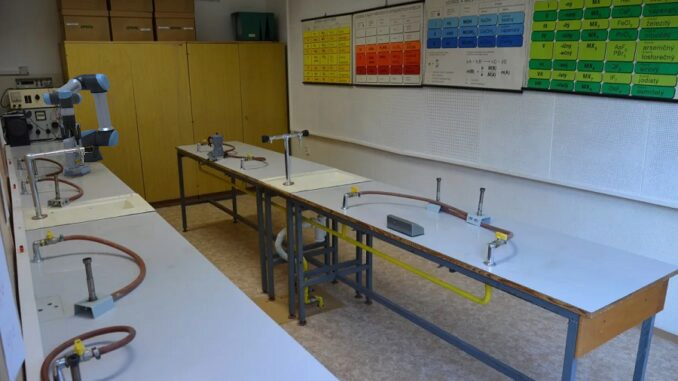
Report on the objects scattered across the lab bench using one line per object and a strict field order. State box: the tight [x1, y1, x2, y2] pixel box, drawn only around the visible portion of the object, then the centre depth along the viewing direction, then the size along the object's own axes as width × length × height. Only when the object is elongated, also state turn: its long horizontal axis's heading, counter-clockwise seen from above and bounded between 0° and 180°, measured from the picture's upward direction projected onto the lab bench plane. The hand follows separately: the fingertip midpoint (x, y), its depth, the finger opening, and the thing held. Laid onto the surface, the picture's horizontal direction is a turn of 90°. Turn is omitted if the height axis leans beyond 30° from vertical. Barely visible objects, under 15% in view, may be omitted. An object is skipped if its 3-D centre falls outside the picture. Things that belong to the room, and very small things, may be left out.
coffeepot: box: [206, 132, 225, 157], centre depth 387 cm, size 15×9×18 cm, turn 138°
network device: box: [62, 135, 88, 171], centre depth 326 cm, size 26×9×20 cm, turn 13°
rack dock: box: [62, 165, 91, 177], centre depth 330 cm, size 10×13×4 cm
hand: (73, 150), depth 326 cm, fingers open, 4 cm apart
